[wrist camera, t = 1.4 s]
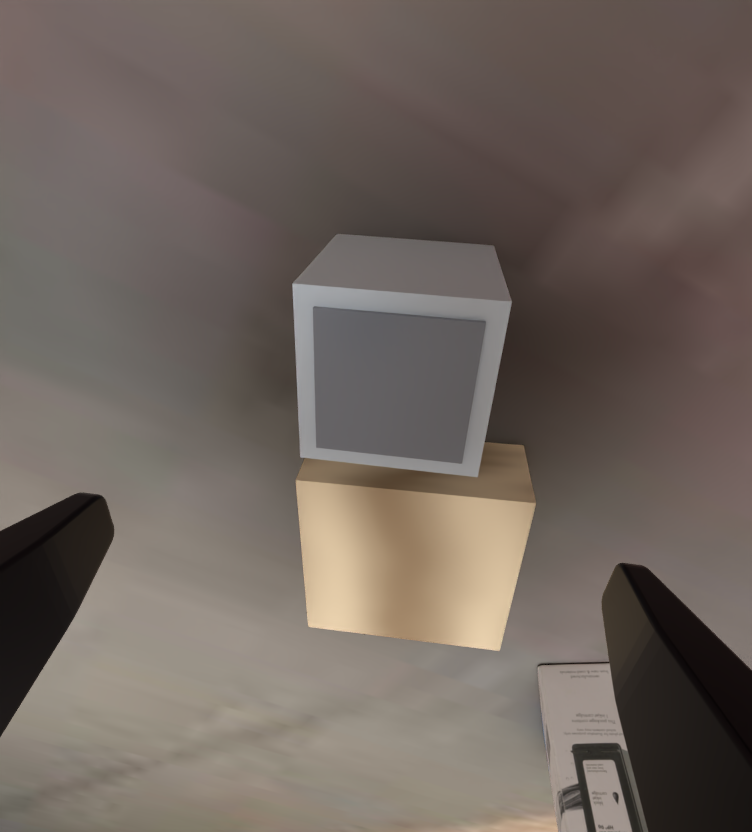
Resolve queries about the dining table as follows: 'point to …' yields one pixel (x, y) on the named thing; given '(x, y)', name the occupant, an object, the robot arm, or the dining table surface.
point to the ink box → (587, 751)
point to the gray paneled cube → (399, 352)
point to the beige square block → (415, 547)
